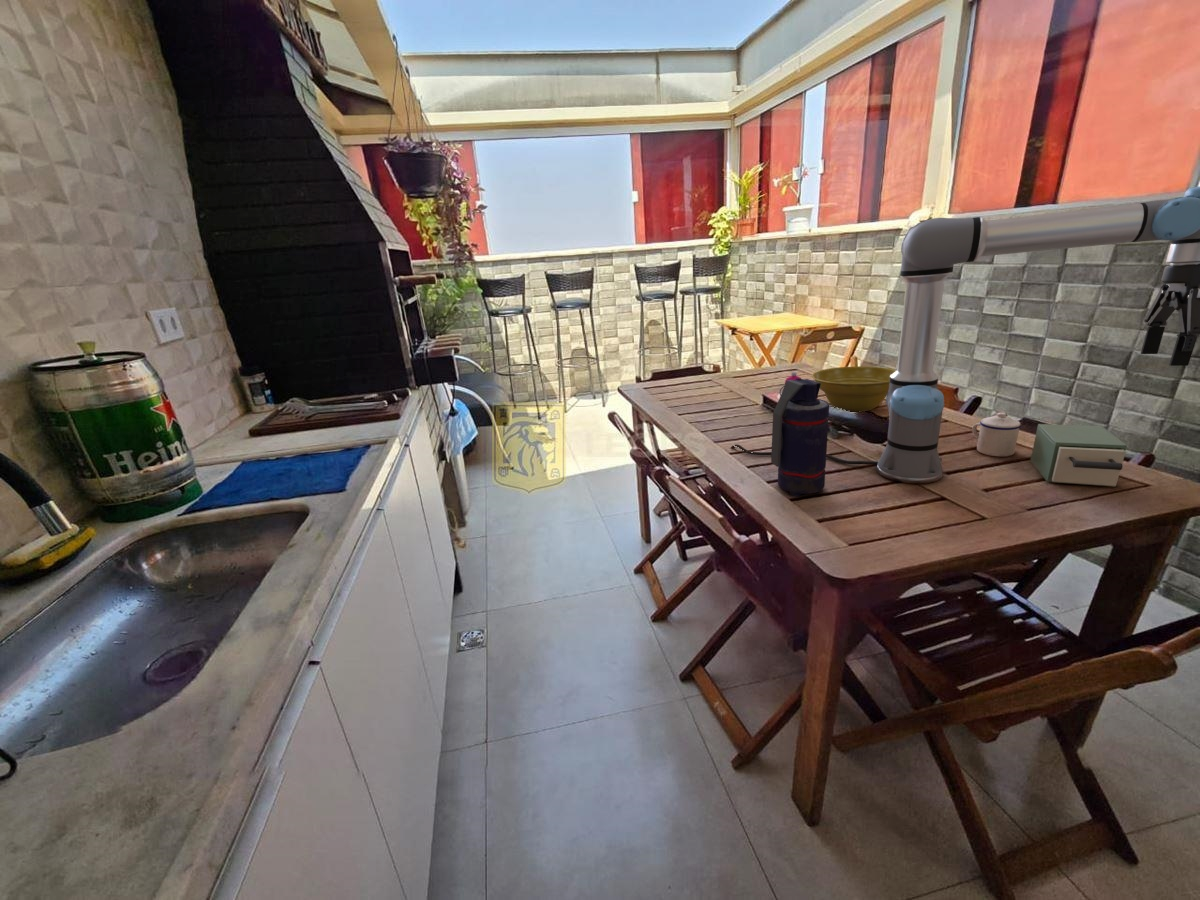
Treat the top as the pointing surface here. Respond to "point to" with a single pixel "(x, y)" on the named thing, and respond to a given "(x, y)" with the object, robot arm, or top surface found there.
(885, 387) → the planter bowl
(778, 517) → the top surface
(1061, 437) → the cabinet
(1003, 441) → the teacup with lid
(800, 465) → the grenade
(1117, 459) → the drawer
